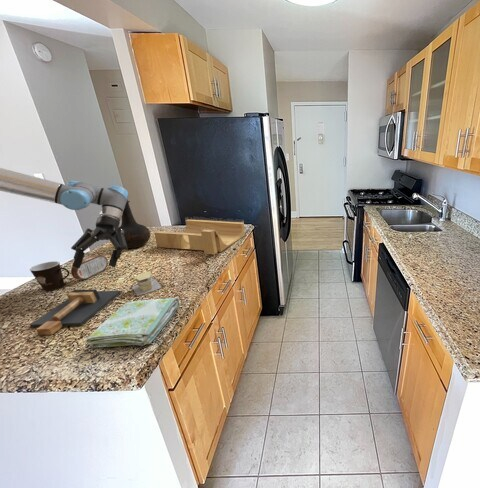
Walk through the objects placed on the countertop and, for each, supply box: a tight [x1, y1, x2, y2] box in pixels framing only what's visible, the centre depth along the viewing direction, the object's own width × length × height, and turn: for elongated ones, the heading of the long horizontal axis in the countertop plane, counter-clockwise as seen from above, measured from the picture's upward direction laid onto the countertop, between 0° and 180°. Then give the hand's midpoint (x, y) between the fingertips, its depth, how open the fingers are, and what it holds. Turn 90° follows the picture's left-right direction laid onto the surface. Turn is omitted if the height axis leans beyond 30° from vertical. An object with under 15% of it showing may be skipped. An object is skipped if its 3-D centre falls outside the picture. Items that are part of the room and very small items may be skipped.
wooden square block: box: [35, 321, 64, 336], centre depth 84 cm, size 4×4×2 cm
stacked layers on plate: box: [131, 271, 163, 297], centre depth 109 cm, size 10×9×6 cm
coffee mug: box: [29, 261, 70, 292], centre depth 108 cm, size 12×9×10 cm
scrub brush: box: [51, 288, 100, 321], centre depth 93 cm, size 8×4×14 cm
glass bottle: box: [114, 199, 151, 249], centre depth 148 cm, size 18×18×28 cm
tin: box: [70, 254, 109, 280], centre depth 118 cm, size 15×3×8 cm, turn 172°
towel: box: [84, 297, 180, 349], centre depth 86 cm, size 18×21×5 cm
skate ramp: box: [153, 216, 246, 259], centre depth 154 cm, size 40×35×16 cm
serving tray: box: [29, 290, 122, 328], centre depth 96 cm, size 16×20×1 cm
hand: (93, 266), depth 102 cm, fingers open, 13 cm apart
